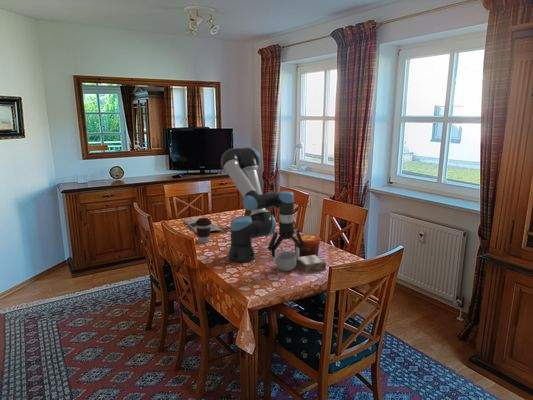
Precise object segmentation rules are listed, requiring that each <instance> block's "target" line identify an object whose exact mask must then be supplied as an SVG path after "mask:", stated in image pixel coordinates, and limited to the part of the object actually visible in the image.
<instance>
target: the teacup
mask: <svg viewBox="0 0 533 400" xmlns="http://www.w3.org/2000/svg"><path fill="white" fill-rule="evenodd" d="M275 264H276V267H277V269H279V270H280V271H281V272H291V271H293V270H294V269H296V267H297V265H296V253H295V252H291V251H287V250H283V251H281V252H278V253H276V263H275Z"/></svg>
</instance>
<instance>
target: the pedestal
mask: <svg viewBox="0 0 533 400" xmlns="http://www.w3.org/2000/svg"><path fill="white" fill-rule="evenodd" d="M296 267H297V268H299V269H300V270H301V272H303V273H305V274H307V273H315V272H321V271H326V270H327V262H326V261H325V260H323V259H322V258H321V257H319V256H316V255H310V256H303V257H299V260H297V259H296Z"/></svg>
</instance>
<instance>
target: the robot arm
mask: <svg viewBox="0 0 533 400" xmlns="http://www.w3.org/2000/svg"><path fill="white" fill-rule="evenodd" d="M220 165H221V168H222V170H223V171H224V172H225V173H226V174H228V176H229V178H230V180H231V181H232V182H233V184H234V185H235V187H236V189H238V191H239V193H240V195H241V196H242V206H243V208H244V209H246V210H251V212H252V213H251V215H250V216H244V215H239V216H236V217H234V218H232V219H231V221H230V227H229V229H230V247H229V251H228V253H227V259H228V260H229V261H231V262H234V263H240V264H242V263H248V262H252V261H253V260H255V258H256V254H255V250H254V247H253V245H252V239H258V238H263V237H268V236H272V237H271V240H270V242H269V245H268V248H267V250H269V251H271V257H272V260H273V261H272V262H273V263H274V264H276V254H277V249H278V247H279V246H280V244H281V242H283V241H284V240H290V239H291V240H292V242H293V243H295V244H296V245H297V246H298V247H296V253H295V254H296V259H297V260H299V253H301V248H302V246H304V243H303V241H302V238H301V236H300V234H301V233H300V230H299V229H298V228H295V229H294V227H295V225H294V224H295V223H294V221H295V220H294V219H295V193H294V192H293V191H290V190H289V191H288V190H284V191H282V190H281V191H280V192H277V191H268V192H267V193H263V192H262V187H261V184H260V179H259V175H258V169H259V167H260V165H261V155H260V152H259V151H258V150H257V149H256V148H254V147H237V148H234V147H233V148H229V149H227V150H226V151H224V153H223V154H222V155H221V158H220ZM269 208H270V209H271V208H277V209H278V211H279V212H278V220H279V222H278V223H279V224H278V231H276V228H277V222H276V218H275V216H274V215H272V214H270V211H269V210H268V209H269ZM294 234H295V236H297V238H298V240H299V242H300V244H299V243H298V242H297V240H296V239H295V238H294V237H295V236H294ZM295 244H294V245H295Z"/></svg>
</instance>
